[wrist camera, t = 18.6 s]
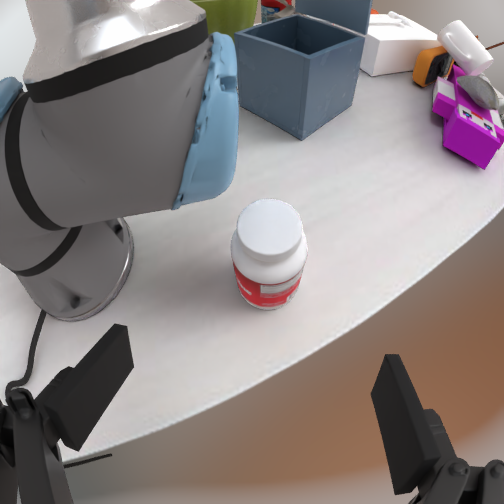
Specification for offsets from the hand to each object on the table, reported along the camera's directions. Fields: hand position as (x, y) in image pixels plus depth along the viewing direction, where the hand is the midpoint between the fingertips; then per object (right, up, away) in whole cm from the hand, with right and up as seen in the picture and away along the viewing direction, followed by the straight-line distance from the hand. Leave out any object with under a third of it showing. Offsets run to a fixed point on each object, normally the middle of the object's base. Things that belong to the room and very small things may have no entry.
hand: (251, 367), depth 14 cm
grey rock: (+40, +32, +24) cm, 56 cm away
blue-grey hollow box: (+7, +29, +31) cm, 43 cm away
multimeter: (+39, +48, +34) cm, 70 cm away
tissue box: (+31, +51, +41) cm, 72 cm away
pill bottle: (+2, +2, +17) cm, 18 cm away
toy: (+48, +45, +35) cm, 75 cm away
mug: (+45, +41, +24) cm, 65 cm away
